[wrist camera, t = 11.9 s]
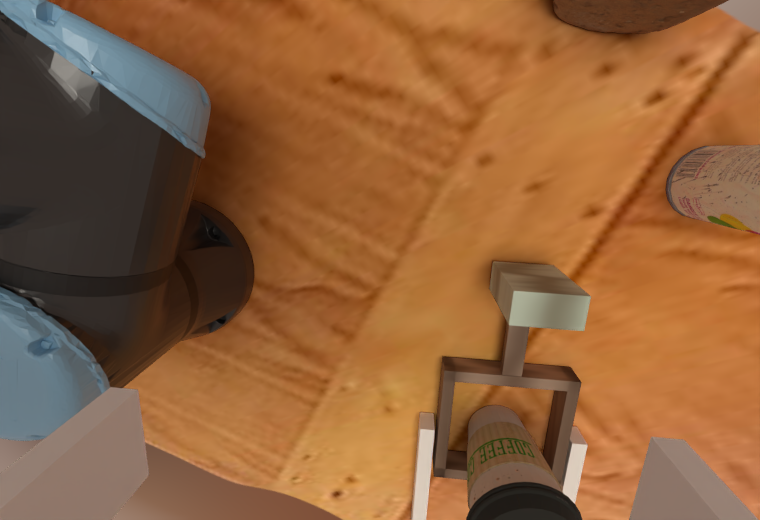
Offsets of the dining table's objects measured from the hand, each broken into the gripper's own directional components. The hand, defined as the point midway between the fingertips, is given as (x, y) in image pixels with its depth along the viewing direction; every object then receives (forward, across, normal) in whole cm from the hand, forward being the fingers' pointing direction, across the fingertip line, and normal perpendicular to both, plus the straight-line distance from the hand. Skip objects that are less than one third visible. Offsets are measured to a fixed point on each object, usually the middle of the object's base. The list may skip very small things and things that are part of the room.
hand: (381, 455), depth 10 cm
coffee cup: (+33, +12, -23) cm, 42 cm away
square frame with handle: (+33, +12, -15) cm, 38 cm away
